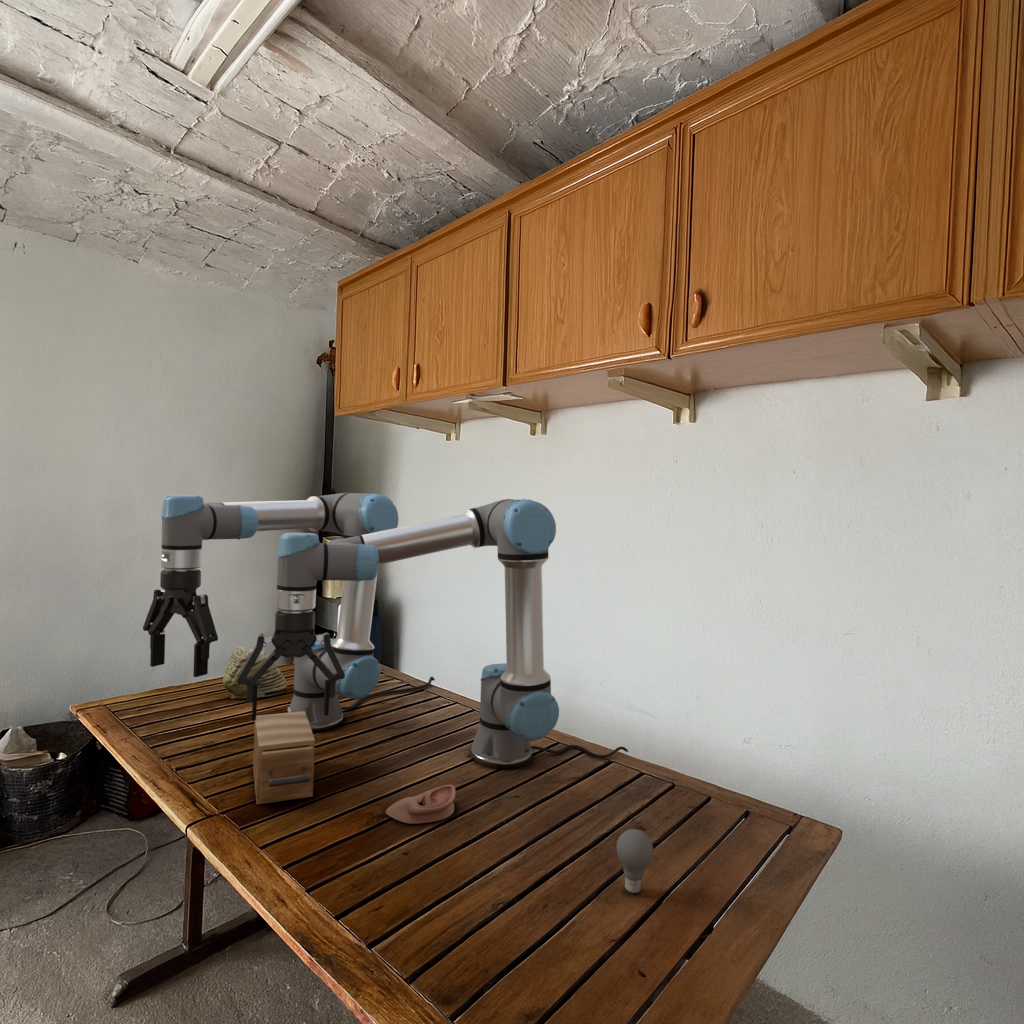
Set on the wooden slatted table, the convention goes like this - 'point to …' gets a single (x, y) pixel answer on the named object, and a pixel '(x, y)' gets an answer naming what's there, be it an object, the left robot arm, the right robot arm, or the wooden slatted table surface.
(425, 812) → the anatomical model
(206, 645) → the left robot arm
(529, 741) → the right robot arm
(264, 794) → the drawer
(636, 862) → the light bulb
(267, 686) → the fossil
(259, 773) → the cabinet
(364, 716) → the wooden slatted table surface
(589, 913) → the wooden slatted table surface
